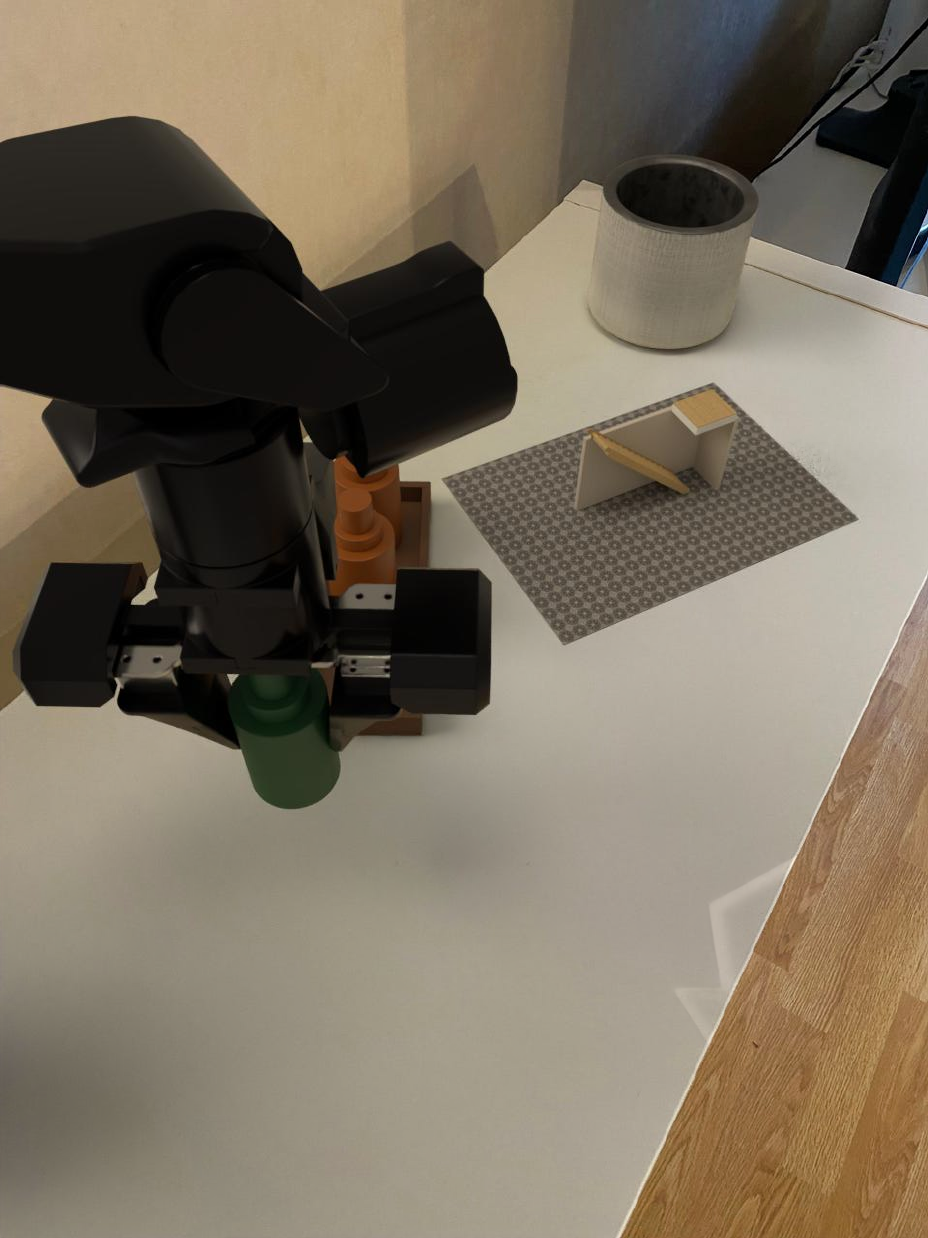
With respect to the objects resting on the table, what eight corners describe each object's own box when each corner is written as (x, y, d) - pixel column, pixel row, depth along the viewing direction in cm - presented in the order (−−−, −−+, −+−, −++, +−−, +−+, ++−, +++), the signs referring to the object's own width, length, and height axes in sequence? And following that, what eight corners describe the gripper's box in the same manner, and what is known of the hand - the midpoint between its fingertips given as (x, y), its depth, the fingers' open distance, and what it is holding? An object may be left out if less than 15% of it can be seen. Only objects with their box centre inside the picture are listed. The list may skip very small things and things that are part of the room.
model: (719, 488, 75) (742, 407, 69) (597, 536, 72) (611, 455, 66) (693, 462, 77) (714, 380, 71) (573, 508, 74) (584, 426, 68)
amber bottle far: (355, 568, 69) (343, 464, 62) (330, 526, 72) (316, 422, 64) (413, 546, 71) (408, 442, 63) (386, 506, 73) (379, 402, 66)
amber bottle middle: (348, 637, 66) (335, 535, 58) (321, 591, 68) (306, 488, 61) (409, 613, 67) (404, 510, 60) (381, 568, 69) (373, 465, 62)
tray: (422, 736, 62) (421, 717, 60) (287, 734, 62) (282, 716, 60) (431, 501, 74) (430, 481, 73) (319, 499, 74) (316, 479, 73)
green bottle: (269, 824, 48) (233, 714, 41) (238, 752, 51) (200, 636, 43) (354, 787, 49) (335, 673, 42) (321, 719, 52) (297, 600, 44)
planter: (567, 334, 87) (580, 212, 78) (611, 259, 94) (627, 140, 86) (710, 370, 84) (740, 248, 76) (744, 290, 92) (775, 170, 83)
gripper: (496, 369, 41) (488, 613, 53) (34, 362, 41) (132, 606, 53) (495, 579, 34) (486, 804, 46) (-61, 569, 34) (77, 795, 46)
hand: (290, 741), depth 48 cm, fingers closed on green bottle, 4 cm apart
